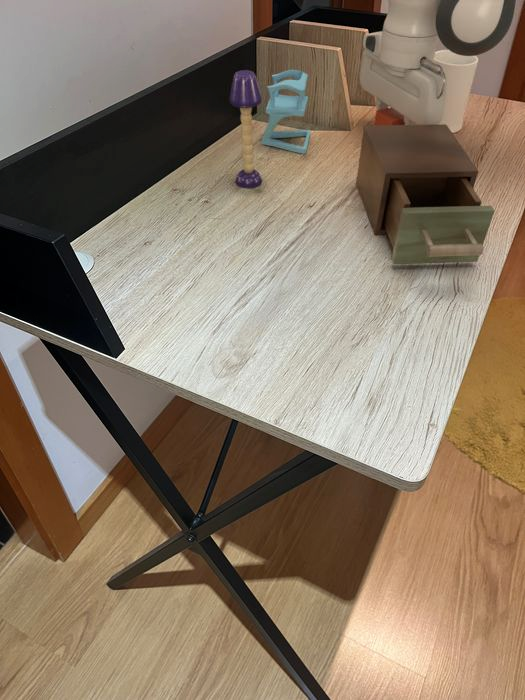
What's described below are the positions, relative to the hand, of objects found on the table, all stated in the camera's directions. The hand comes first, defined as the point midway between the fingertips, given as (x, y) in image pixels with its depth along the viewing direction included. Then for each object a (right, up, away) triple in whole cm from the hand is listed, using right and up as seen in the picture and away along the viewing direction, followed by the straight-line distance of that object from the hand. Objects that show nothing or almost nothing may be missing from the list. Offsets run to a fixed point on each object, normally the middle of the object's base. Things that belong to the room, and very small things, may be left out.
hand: (392, 132), depth 102 cm
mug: (+9, +4, +7) cm, 12 cm away
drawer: (-1, -25, -24) cm, 34 cm away
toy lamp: (-26, -12, -10) cm, 30 cm away
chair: (-19, -2, 0) cm, 19 cm away
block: (0, -1, +1) cm, 2 cm away
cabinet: (-2, -17, -15) cm, 23 cm away
